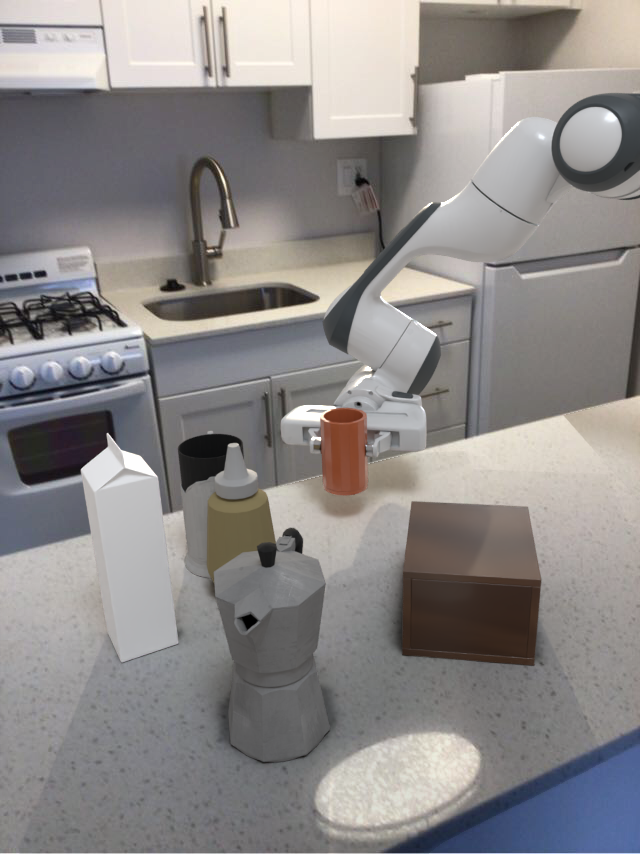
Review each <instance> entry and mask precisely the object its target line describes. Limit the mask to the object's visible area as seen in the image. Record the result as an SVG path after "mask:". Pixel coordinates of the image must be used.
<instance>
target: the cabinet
mask: <svg viewBox="0 0 640 854" xmlns="http://www.w3.org/2000/svg"><path fill="white" fill-rule="evenodd" d="M406 534H407V535H406V542H405V550H404V560H403V567H402V621H401V622H402V624H401V625H402V627H401V628H402V630H401V631H402V633H401V635H402V637H401V638H402V642H401V644H402V646H401V647H402V648H401V649H402V650H401V654H402V656H408V657H420V658H421V657H422V658H433V659H435V658H436V659H444V660H445V659H446V660H457V661H472V662H482V663H483V662H484V663H486V662H487V663H494V664H495V663H496V664H497V663H498V664H509V665H510V664H511V665H521V666H522V665H523V666H533V667H534V666H535V661H536V651H537V650H536V649H537V637H538V626H539V613H540V602H541V590H542V589H541V588H542V576H541V571H540V564H539V559H538V553H537V547H536V544H535V538H534V532H533V527H532V521H531V515H530V509H529V506H526V505H525V506H523V505H507V504H506V505H502V504H481V503H480V504H479V503H461V502H460V503H458V502H440V501H439V502H438V501H437V502H436V501H417V500H412V501H411V504H410V512H409V519H408V528H407V533H406Z"/></svg>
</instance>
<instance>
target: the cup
mask: <svg viewBox="0 0 640 854" xmlns="http://www.w3.org/2000/svg"><path fill="white" fill-rule="evenodd" d="M320 427H321V452H322V454H321V473H322V475H321V476H322V488H323V490H324V491H325V492H327V493H328V494H332V495H334V496H355V495H358V494H361V493H363V492H364V491H366V490H367V489H368V487H369V459H368V458H369V457H366V443H367V414H366V413H365V412H364V411H362V410H359V409H355V408H335V409H330V410H327V411H325V412H323V413H322V414H321V415H320Z"/></svg>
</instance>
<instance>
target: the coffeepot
mask: <svg viewBox="0 0 640 854" xmlns="http://www.w3.org/2000/svg"><path fill="white" fill-rule="evenodd" d="M257 550H258V551H252V552H243V553H241V554H240V555H238V556H237V557H235V558H234V559H232V560H231V561H229V562H228V563H226V564H225V565H223V566H222V567H220V568H219V569H217V570H216V571H214V583H213V585H214V596H215V600H216V604H217V609H218V613H219V615H220V620H221V623H222V628H223V631H224V635H225V638H226V642H227V646H228V649H229V653H230V656H231V660H232V661H233V664H232V674H231V683H230V693H229V694H230V695H229V703H228V713H227V717H228V729H229V742H230V745H231V746H233V747H234V748H236V749H237V750H239V751H240V752H241V753H243V754H244V755H245V756H247V757H249V758H252V759H254V760H257V761H260V762H263V763H281V762H282V763H283V762H287V761H293V760H295V759H298V758H301V757H303V756H307V755H308V754H309V753H310V752H312V751H313V750H314V749H315V748H316V747H318V746H319V745H320V743H321V742H322V740H323V739H324V737H325V735H326V734H328V732H329V731H330V730H331V725H330V721H329V717H328V713H327V709H326V704H325V700H324V699H325V698H324V695H323V691H322V690H323V689H322V687H321V681H320V678H319V673H318V668H317V665H316V660H315V656H314V653H315V652H316V651H317V650H318V645H319V638H320V630H321V621H322V615H323V608H324V599H325V593H326V592H325V591H326V585H327V582H326V579H325V575H324V573H323V569H322V566H321V564H320V560H319V558H314V557H312V556H309V555H306V554H303V552H304V551H303V550H304V538H303V536H302V534H301V533H300V531H299V530H298V529H297V528H295V527H288V528H286V529H284V531H283V532H282V534H281V536H279V537H278V538H277V540H276V544H274V543H272V542H265V543H261V544H259V545H258V546H257Z"/></svg>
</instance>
